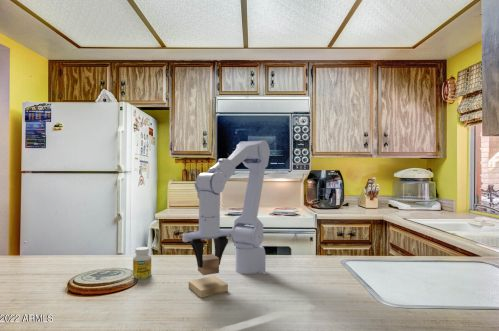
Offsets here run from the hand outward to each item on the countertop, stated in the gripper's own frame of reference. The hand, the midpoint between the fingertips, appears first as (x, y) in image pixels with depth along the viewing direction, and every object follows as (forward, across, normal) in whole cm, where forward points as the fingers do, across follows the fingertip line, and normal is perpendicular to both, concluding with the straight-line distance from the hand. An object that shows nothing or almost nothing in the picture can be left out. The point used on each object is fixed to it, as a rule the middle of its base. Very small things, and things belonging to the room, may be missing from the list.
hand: (208, 265), depth 85 cm
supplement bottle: (+8, +14, -19) cm, 25 cm away
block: (+2, 0, 0) cm, 2 cm away
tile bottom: (+8, 0, 0) cm, 8 cm away
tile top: (+6, 0, 0) cm, 7 cm away
